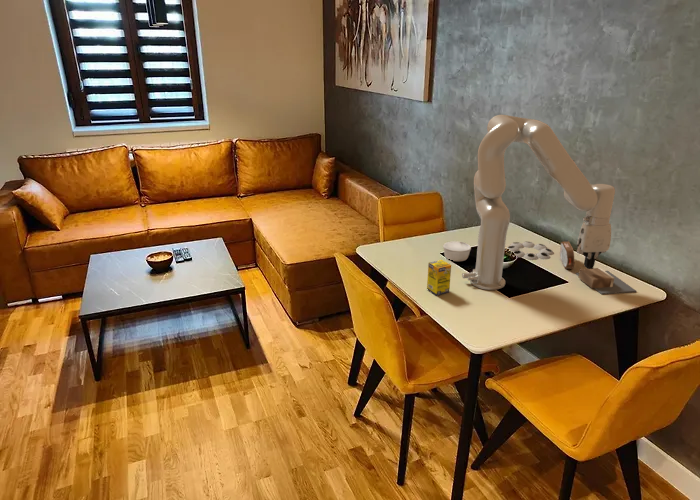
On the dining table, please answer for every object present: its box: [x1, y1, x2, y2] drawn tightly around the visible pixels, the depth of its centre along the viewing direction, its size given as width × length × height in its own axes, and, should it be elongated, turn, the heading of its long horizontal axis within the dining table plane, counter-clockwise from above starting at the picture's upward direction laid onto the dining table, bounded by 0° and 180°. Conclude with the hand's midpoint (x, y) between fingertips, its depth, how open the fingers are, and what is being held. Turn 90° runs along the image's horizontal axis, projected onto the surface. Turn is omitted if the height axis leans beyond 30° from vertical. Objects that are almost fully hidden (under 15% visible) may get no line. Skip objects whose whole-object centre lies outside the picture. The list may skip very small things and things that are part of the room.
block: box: [577, 267, 614, 289], centre depth 180 cm, size 4×9×8 cm
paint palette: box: [506, 241, 555, 261], centre depth 210 cm, size 20×20×2 cm
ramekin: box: [442, 240, 472, 262], centre depth 205 cm, size 11×11×5 cm
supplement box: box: [426, 259, 452, 297], centre depth 175 cm, size 6×6×11 cm
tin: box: [559, 241, 575, 270], centre depth 196 cm, size 15×3×8 cm, turn 168°
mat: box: [575, 270, 637, 295], centre depth 181 cm, size 13×17×1 cm
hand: (588, 267), depth 178 cm, fingers closed
